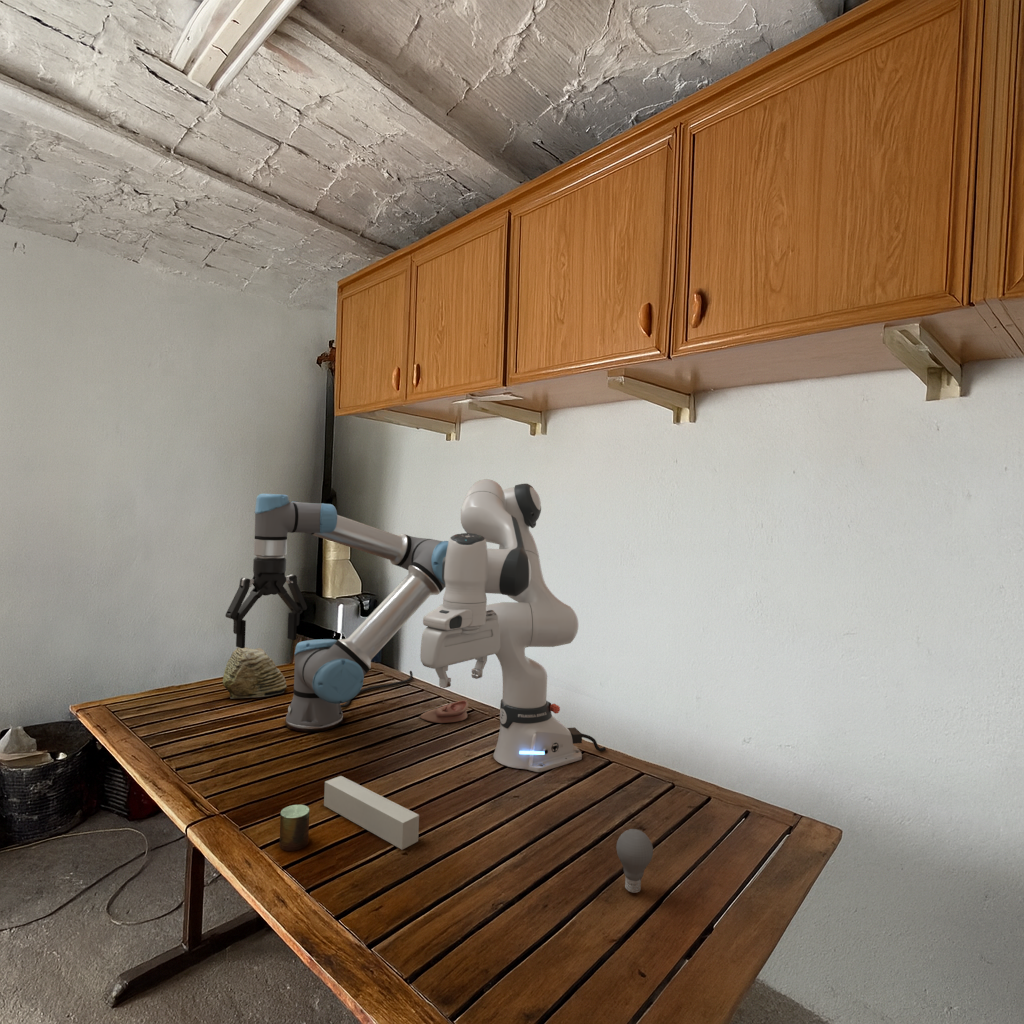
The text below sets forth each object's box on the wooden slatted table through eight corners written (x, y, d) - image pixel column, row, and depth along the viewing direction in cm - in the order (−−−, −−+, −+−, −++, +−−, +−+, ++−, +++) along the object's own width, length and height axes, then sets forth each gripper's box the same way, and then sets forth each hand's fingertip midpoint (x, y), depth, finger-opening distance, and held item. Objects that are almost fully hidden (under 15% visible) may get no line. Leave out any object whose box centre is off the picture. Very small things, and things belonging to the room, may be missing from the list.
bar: (340, 799, 133) (340, 775, 133) (418, 841, 118) (419, 814, 118) (323, 805, 130) (324, 781, 130) (402, 850, 115) (403, 822, 115)
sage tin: (298, 833, 119) (299, 801, 119) (313, 843, 116) (315, 810, 116) (273, 843, 115) (275, 811, 115) (289, 854, 112) (290, 820, 112)
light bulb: (610, 879, 108) (613, 822, 108) (644, 879, 109) (647, 822, 109) (619, 902, 102) (622, 840, 102) (655, 901, 103) (658, 840, 103)
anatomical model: (416, 706, 181) (429, 695, 192) (416, 720, 181) (429, 708, 192) (461, 711, 178) (471, 699, 190) (460, 725, 178) (471, 712, 190)
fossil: (218, 695, 195) (220, 647, 195) (278, 685, 208) (279, 640, 207) (228, 703, 189) (230, 653, 188) (289, 692, 201) (290, 645, 201)
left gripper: (306, 553, 167) (303, 633, 167) (212, 557, 148) (208, 648, 148) (322, 556, 162) (319, 638, 163) (228, 560, 143) (224, 654, 143)
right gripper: (486, 606, 138) (483, 669, 138) (416, 617, 122) (413, 688, 122) (508, 610, 134) (505, 675, 134) (439, 622, 118) (436, 696, 118)
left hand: (266, 643), depth 155 cm, fingers open, 13 cm apart
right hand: (461, 682), depth 128 cm, fingers open, 8 cm apart
